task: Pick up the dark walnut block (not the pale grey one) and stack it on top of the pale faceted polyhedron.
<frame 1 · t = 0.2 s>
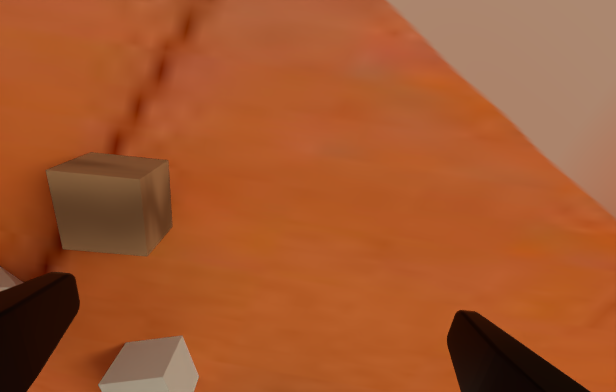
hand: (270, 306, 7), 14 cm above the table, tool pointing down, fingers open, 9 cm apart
pale faceted polyhedron: (20, 293, 25), on the table
walnut block: (134, 190, 22), on the table
grey block: (164, 358, 28), on the table
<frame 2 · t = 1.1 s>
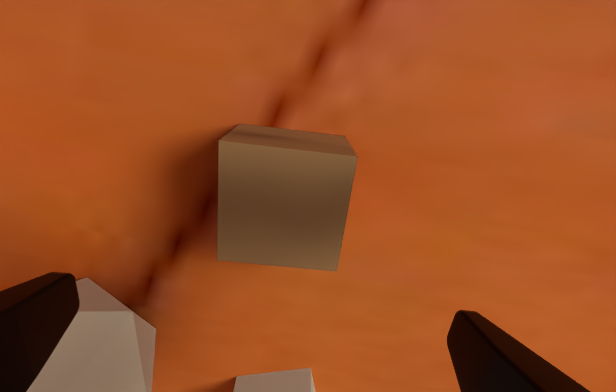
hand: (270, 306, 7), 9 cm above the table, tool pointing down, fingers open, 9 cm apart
pale faceted polyhedron: (109, 313, 19), on the table
walnut block: (288, 178, 16), on the table
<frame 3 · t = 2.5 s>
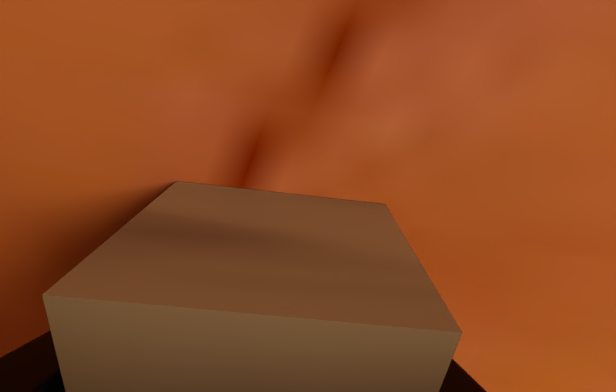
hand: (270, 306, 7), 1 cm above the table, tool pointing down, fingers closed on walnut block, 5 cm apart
walnut block: (274, 279, 8), on the table, touching gripper
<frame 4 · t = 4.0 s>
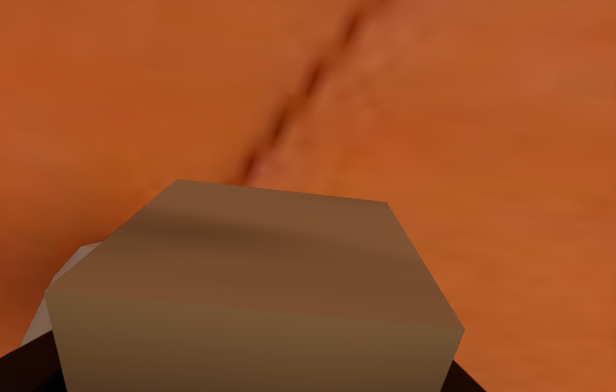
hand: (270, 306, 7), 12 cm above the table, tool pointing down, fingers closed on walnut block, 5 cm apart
pale faceted polyhedron: (160, 267, 21), on the table
walnut block: (275, 277, 8), point 11 cm above the table, touching gripper
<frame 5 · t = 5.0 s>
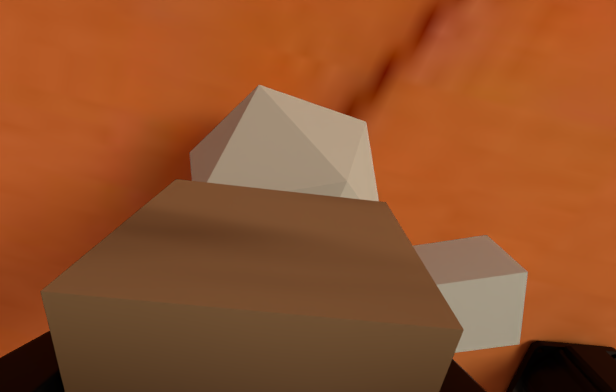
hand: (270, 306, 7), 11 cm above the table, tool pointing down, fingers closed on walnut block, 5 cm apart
pale faceted polyhedron: (289, 167, 18), on the table
walnut block: (274, 277, 8), point 10 cm above the table, touching gripper
grey block: (445, 272, 21), on the table
when the fingers open (10 cm above the table, at t = 5.6 s): walnut block drops 1 cm, resting on pale faceted polyhedron.
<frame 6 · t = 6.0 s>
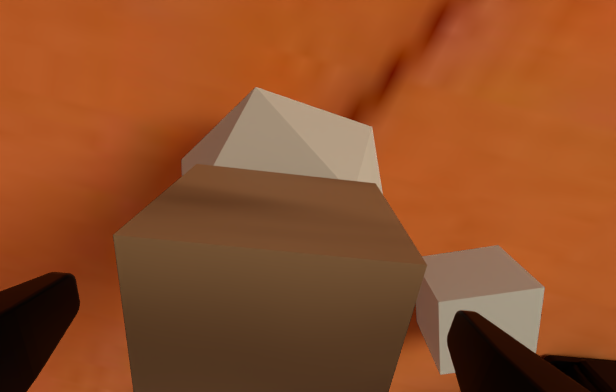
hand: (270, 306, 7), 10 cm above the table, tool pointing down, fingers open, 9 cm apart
pale faceted polyhedron: (289, 173, 17), on the table, touching walnut block
walnut block: (280, 250, 10), point 8 cm above the table, touching pale faceted polyhedron
grey block: (454, 284, 20), on the table
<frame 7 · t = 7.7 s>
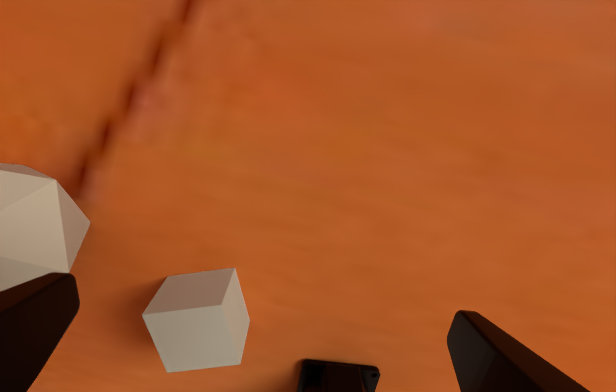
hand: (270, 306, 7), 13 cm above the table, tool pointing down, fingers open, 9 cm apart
pale faceted polyhedron: (47, 206, 21), on the table, touching walnut block
grey block: (210, 298, 24), on the table
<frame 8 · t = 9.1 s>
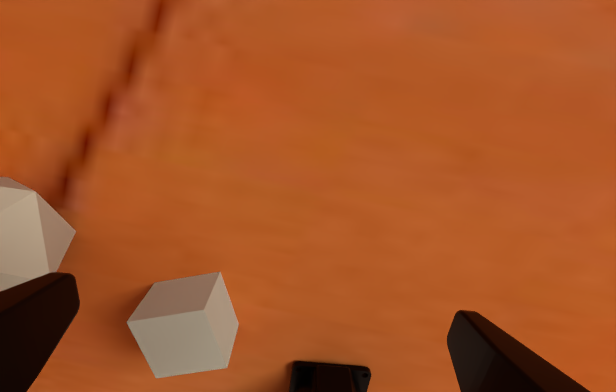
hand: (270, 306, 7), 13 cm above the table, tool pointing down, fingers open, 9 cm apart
pale faceted polyhedron: (33, 216, 21), on the table, touching walnut block
grey block: (198, 302, 24), on the table
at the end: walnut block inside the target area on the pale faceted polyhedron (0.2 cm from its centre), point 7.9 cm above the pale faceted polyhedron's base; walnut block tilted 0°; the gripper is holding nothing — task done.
